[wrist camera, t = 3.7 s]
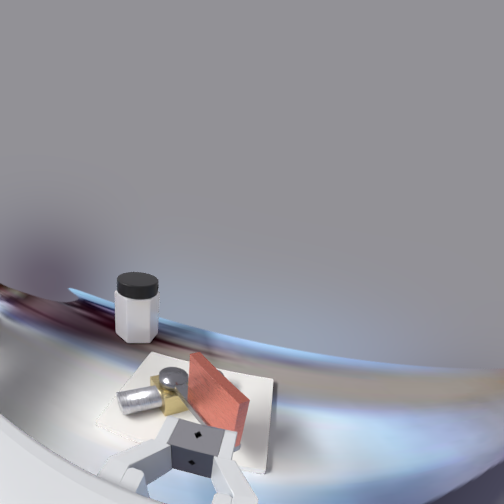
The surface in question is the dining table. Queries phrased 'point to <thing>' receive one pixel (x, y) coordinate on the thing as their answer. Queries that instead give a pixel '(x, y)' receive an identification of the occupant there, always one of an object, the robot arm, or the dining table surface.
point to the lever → (208, 395)
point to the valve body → (151, 399)
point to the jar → (137, 307)
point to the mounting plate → (151, 421)
